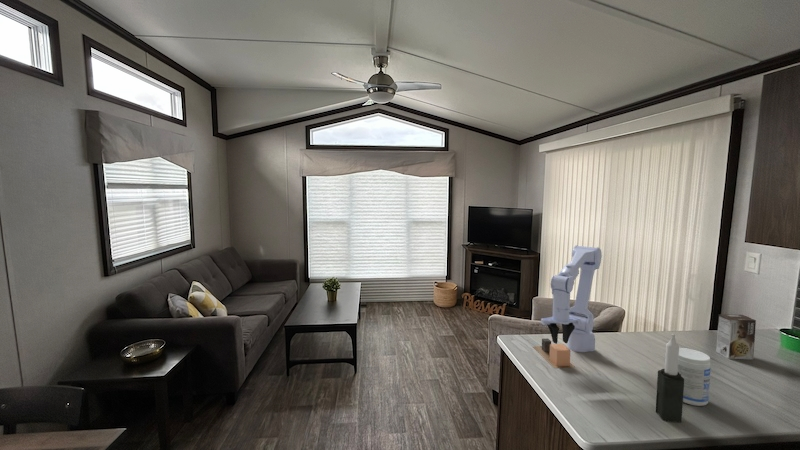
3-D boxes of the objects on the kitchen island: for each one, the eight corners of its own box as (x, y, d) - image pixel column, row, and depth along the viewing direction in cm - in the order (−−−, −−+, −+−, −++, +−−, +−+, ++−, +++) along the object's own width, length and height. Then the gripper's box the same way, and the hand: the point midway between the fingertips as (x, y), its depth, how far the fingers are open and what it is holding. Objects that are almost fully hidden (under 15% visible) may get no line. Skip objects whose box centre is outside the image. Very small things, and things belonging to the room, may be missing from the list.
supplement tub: (712, 410, 102) (715, 363, 101) (672, 401, 107) (675, 356, 106) (702, 394, 111) (705, 350, 110) (666, 386, 115) (668, 344, 114)
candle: (683, 423, 97) (689, 338, 95) (663, 420, 98) (668, 336, 96) (673, 412, 102) (678, 331, 100) (653, 410, 103) (658, 329, 101)
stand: (550, 349, 144) (551, 335, 143) (575, 371, 126) (575, 355, 125) (532, 350, 143) (532, 336, 143) (554, 372, 125) (555, 356, 125)
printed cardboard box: (739, 352, 139) (742, 314, 138) (754, 360, 133) (757, 320, 132) (715, 351, 140) (717, 313, 139) (728, 359, 134) (731, 319, 133)
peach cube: (562, 358, 132) (562, 344, 132) (569, 365, 127) (570, 350, 126) (549, 359, 132) (549, 344, 131) (556, 366, 127) (556, 350, 126)
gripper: (547, 311, 123) (546, 347, 124) (586, 310, 124) (584, 346, 125) (538, 305, 130) (537, 339, 131) (574, 304, 131) (573, 338, 132)
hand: (559, 342), depth 129 cm, fingers open, 3 cm apart
